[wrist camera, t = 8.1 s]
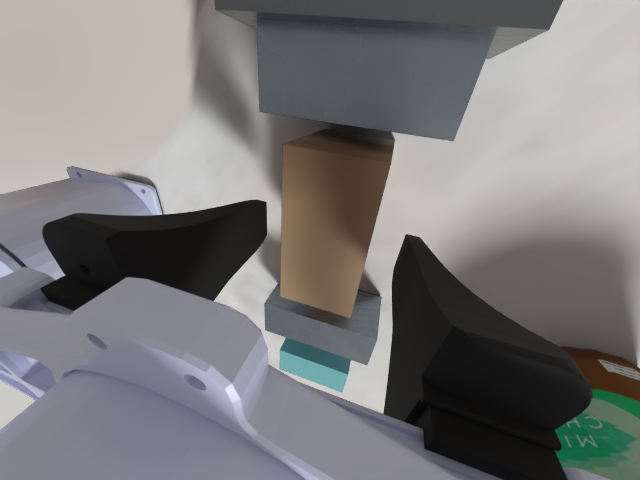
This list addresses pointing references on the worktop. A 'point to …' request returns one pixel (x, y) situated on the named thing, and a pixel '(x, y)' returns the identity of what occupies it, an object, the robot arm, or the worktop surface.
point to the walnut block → (330, 215)
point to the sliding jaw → (323, 337)
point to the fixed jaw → (382, 57)
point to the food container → (605, 419)
